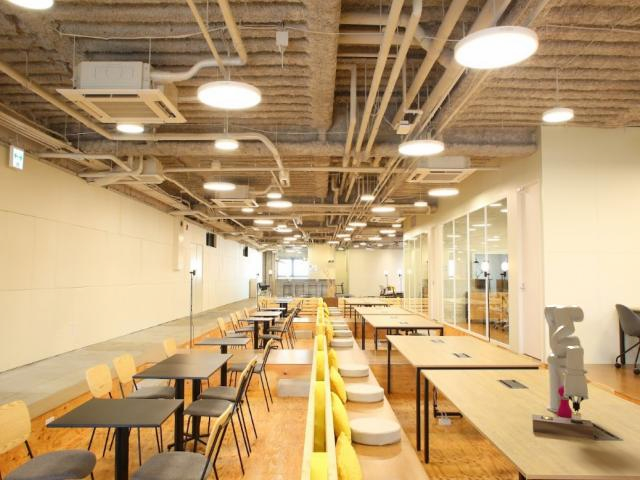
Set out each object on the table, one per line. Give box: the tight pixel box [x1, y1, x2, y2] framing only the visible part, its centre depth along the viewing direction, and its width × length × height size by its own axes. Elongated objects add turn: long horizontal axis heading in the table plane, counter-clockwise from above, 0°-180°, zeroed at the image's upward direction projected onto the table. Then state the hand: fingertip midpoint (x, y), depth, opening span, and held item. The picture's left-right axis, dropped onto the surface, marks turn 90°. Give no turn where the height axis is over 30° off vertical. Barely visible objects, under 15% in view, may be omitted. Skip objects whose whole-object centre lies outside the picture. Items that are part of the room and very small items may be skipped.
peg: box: [572, 411, 582, 424], centre depth 231 cm, size 4×4×4 cm
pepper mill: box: [556, 383, 573, 418], centre depth 250 cm, size 7×7×20 cm
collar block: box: [531, 413, 595, 441], centre depth 233 cm, size 10×26×6 cm, turn 68°
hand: (576, 410), depth 231 cm, fingers closed
